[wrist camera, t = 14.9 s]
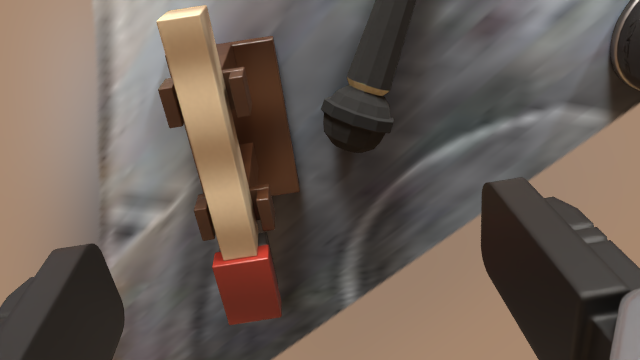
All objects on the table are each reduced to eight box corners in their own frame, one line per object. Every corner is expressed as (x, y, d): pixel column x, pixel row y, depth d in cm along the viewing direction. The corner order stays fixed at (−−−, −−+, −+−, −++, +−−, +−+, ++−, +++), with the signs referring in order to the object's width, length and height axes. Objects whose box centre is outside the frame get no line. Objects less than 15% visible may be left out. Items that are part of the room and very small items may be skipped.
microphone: (402, -128, 36) (320, 132, 42) (399, -159, 31) (305, 145, 37) (475, -107, 36) (382, 153, 42) (485, -134, 30) (376, 170, 36)
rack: (167, 49, 38) (129, 93, 28) (272, 32, 38) (270, 71, 28) (208, 199, 44) (189, 278, 34) (299, 185, 44) (305, 260, 34)
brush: (154, 12, 28) (139, 24, 25) (219, 2, 28) (212, 13, 25) (232, 292, 37) (229, 325, 34) (281, 285, 37) (281, 317, 34)
